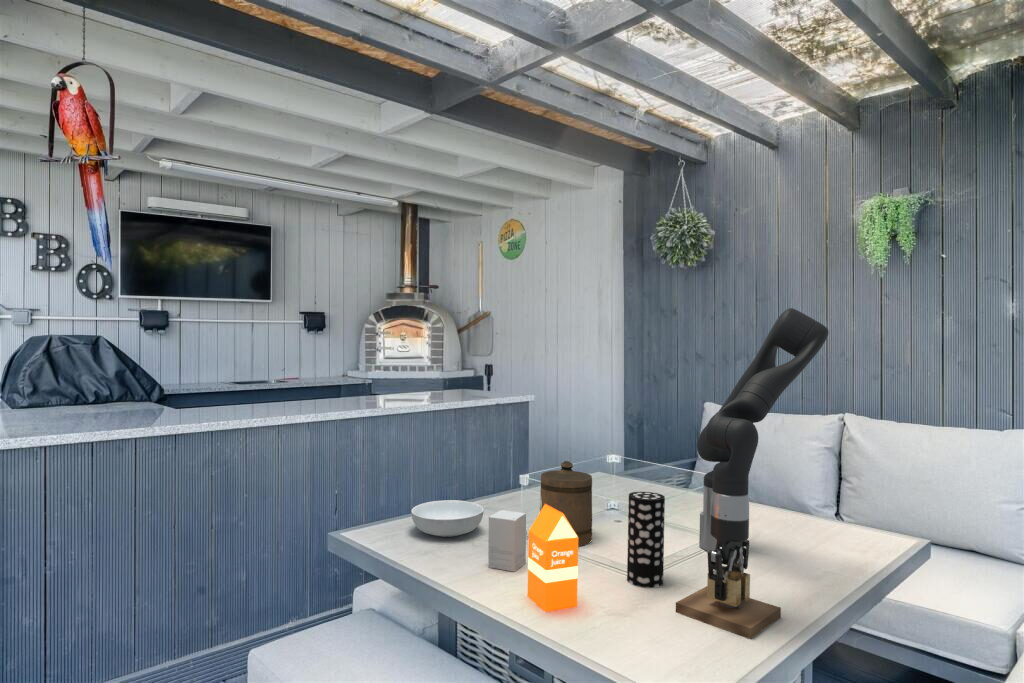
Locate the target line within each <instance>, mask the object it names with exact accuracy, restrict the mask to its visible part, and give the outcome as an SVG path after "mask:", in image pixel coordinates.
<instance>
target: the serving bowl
mask: <svg viewBox="0 0 1024 683" xmlns="http://www.w3.org/2000/svg"><path fill="white" fill-rule="evenodd" d="M484 511H485V510H484V507H483V505H481V504H478V503H476V502H471V501H468V500H467V501H465V500H457V499H456V500H455V499H449V500H448V499H447V500H434V501H433V500H432V501H427V502H423V503H419V504H418V505H416V506H413V508H412V509H411V510H410V514H411V519H412V522H413V524H414V526H415V527H417V529H418V530H420V531H421V532H422V533H425V534H427V535H430V536H437V537H440V538H441V537H442V538H452V537H457V536H460V535H465V534H468V533H470V532H472V531H474V530H475V529H476V528H477V527H478V526H479V525H480V523H481V521H482V519H483V517H484Z"/></svg>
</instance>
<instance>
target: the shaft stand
mask: <svg viewBox="0 0 1024 683" xmlns="http://www.w3.org/2000/svg"><path fill="white" fill-rule="evenodd" d="M675 613H677V614H680V615H682V616H686V617H688V618H691V619H694V620H697V621H700V622H702V623H703V624H708V625H711V626H714V627H717V628H718V629H722V630H724V631H727V632H730V633H732V634H735V635H738V636H741V637H744V638H747V639H750V640H751V639H752V638H754V637H756V636H757V635H758V634H760V633H761V632H763V630H765V629H766V628H768V627H769V626H771V625H772V624H773V623H775V622H776V621H777V620H779V619H781V615H782V608H781V607H780V606H777V605H773V604H770V603H767V602H764V601H760V600H758V599H755V598H752V597H750V599H748V600H747V601H742V600H741V604H740V605H738V606H737V607H734V606H731V605H728V604H725V603H722V602H719V601H716V600H713V599H710V598H707V585H706V586H704V587H702V588H700V589H699V590H697V591H694V592H693V593H691V594H690V595H687V596H685V597H683V598H682V599H680V600H678V601H676V602H675Z"/></svg>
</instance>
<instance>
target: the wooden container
mask: <svg viewBox="0 0 1024 683" xmlns="http://www.w3.org/2000/svg"><path fill="white" fill-rule="evenodd" d="M560 467H561V469H559V470H549V471H544V472H542V473H541V474H540V490H539V491H540V496H539V512H540V511H541V510H542V508H543V507H544V505H545V504H547V505H549V506H550V507H552V508H554V509H556V510H558V511H560V512H562V513H563V514H564V516H565V517H566V519H567V520H568V522H569V524H570V525H571V527H572V528H573V530H574V531H575V533H576V535H577V536H578V548H579V547H583V545H584V546H586V545H585V544H587V545H589V544H590V543H591V542H592V541H591V540H593V477H592V475H591V474H589V473H586V472H582V471H577V470H573V467H574V465H573V463H572V462H571V461H568V460H567V461H566V460H565V461H562V462H561V464H560ZM590 541H591V542H590ZM589 542H590V543H589ZM588 543H589V544H588Z"/></svg>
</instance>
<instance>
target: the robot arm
mask: <svg viewBox="0 0 1024 683" xmlns="http://www.w3.org/2000/svg"><path fill="white" fill-rule="evenodd" d="M828 336H829V328H828V327H826V326H825V325H824V324H823V323H821V322H820V321H817V320H816V319H814V318H812V317H810V316H809V315H807V314H805V313H803V312H801V311H799V310H798V309H797V308H796V309H795V308H793V307H791V308H790V307H789V308H787V309H785V310H784V311H783V312H782V313H781V314H779V316H778V317H777V319H776V320H775V322H774V323H773V325H772V327H771V329H770V330H769V331H768V334H767V336H766V337H765V339H764V341H763V342H762V345H761V346H760V349H759V350H758V352H757V353H756V355H755V356H754V359H753V360H752V361H751V363H750V364H749V366H748V367H747V368H746V370H745V371H744V372H743V374H742V375H741V377H740V378H739V379H738V381H737V382H736V384H735V386H734V387H733V389H732V391H731V392H730V394H729V396H728V397H727V399H726V400H725V401H724V403H723V404H722V406H721V407H720V408H719V410H718V411H717V412H715V414H714V415H712V417H711V418H710V419H709V421H708V423H707V424H706V425H705V427H704V428H703V429H702V430H701V432H700V434H699V435H698V438H697V444H696V450H697V453H698V456H700V458H701V459H703V460H704V461H707V462H710V463H712V462H713V463H715V465H713V467H712V468H713V469H712V470H711V471H709V472H707V473H705V474H704V476H703V490H702V492H703V494H702V495H703V497H702V500H703V501H702V502H703V503H702V504H703V506H702V510H703V511H702V512H700V513H699V535H698V536H699V539H698V541H699V545H698V546H699V548H700V549H702V550H704V551H706V552H707V571H708V573H707V577H708V576H709V579H711V580H714V581H715V598H716V599H717V600H721V601H725V600H726V581H727V577H728V573H729V572H731V570H732V569H733V570H737V571H740V572H744V573H745V569H748V568H749V553H750V540H749V537H750V501H749V474H750V471H751V468H752V464H753V460H754V458H755V457H754V456H755V455H756V452H757V448H758V444H759V432H758V429H757V426H756V425H755V423H759V422H762V421H763V420H764V419H765V418H766V417H767V415H768V414H769V413H770V411H771V409H772V408H773V406H774V405H775V404H776V402H777V401H778V399H779V398H780V397H781V395H782V394H783V392H784V391H785V390H786V389H787V388H788V387H789V386H790V384H792V382H793V381H795V379H797V377H798V376H799V375H800V374H801V373H802V372H803V371H804V369H806V367H807V366H808V365H809V364H810V362H811V361H812V360H813V359H814V358H815V357H816V355H817V354H818V353H819V351H820V350H821V349H822V347H823V346H824V344H825V342H826V341H827V340H828V339H827V338H828ZM779 348H780V349H782V350H783V351H785V352H786V353H788V354H789V355H792V356H793V358H792V359H790V360H789V361H787V362H785V363H782V364H780V365H777V366H776V363H777V362H776V360H777V352H778V349H779ZM722 570H724V572H723V575H722ZM713 571H714V574H713Z"/></svg>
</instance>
